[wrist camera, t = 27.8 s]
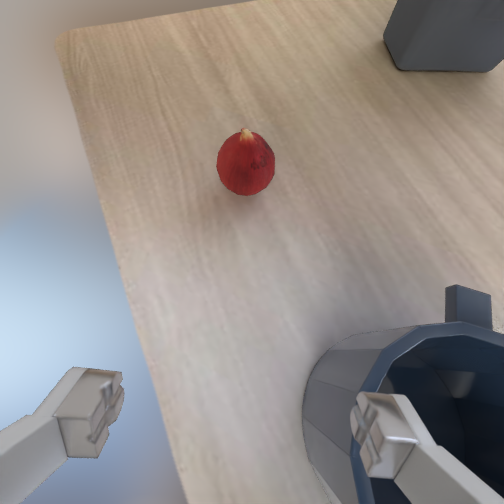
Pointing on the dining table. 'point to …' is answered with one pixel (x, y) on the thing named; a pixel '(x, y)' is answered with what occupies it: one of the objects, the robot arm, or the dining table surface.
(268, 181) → the onion
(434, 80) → the dining table surface
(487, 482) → the pot
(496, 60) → the storage bin
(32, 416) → the robot arm
